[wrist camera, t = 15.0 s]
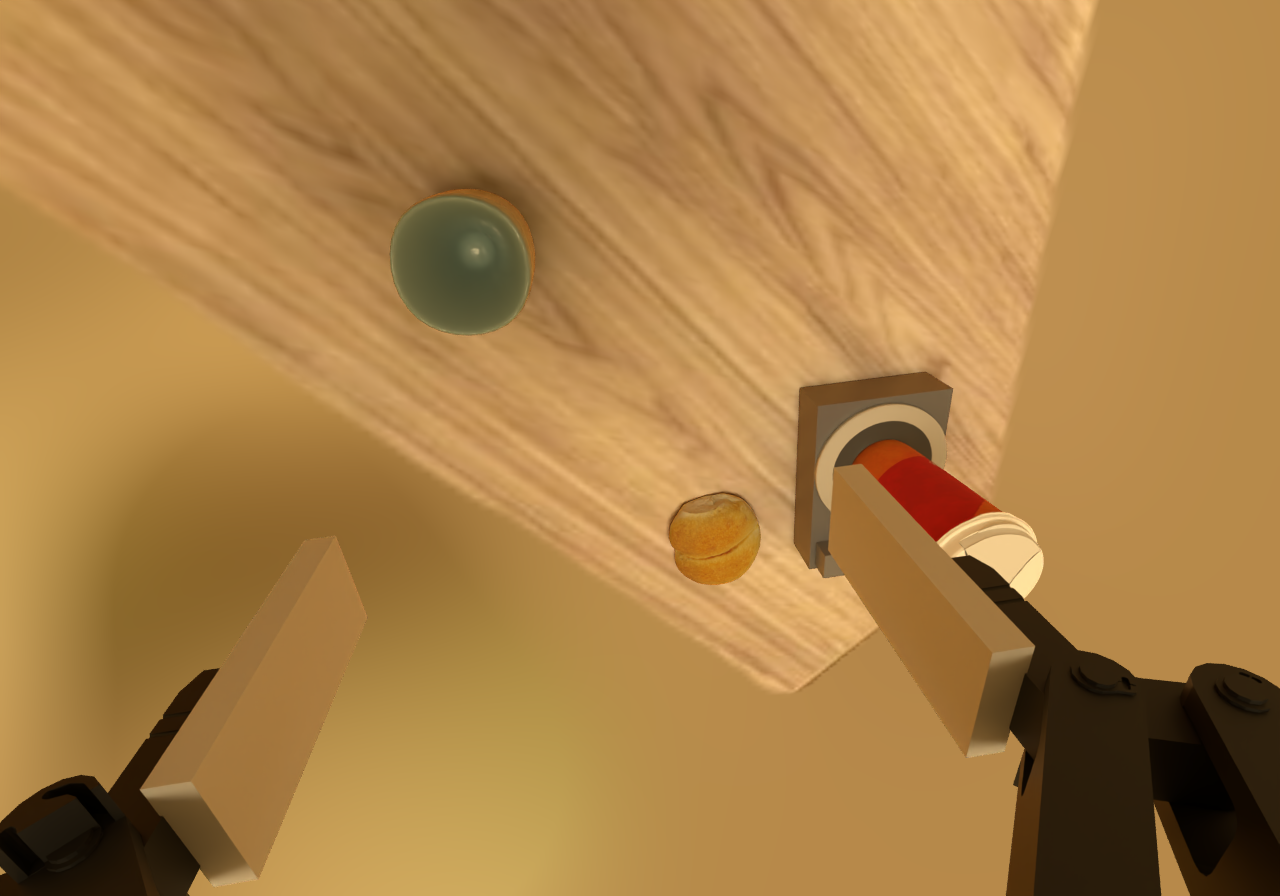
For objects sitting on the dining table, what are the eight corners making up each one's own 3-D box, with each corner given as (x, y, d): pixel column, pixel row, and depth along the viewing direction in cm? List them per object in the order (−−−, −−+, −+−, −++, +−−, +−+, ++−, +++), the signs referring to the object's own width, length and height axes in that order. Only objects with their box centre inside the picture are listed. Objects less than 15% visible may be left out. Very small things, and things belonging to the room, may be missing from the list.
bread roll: (681, 580, 58) (688, 608, 54) (660, 505, 54) (667, 531, 50) (763, 557, 58) (776, 584, 54) (748, 481, 54) (761, 504, 50)
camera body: (799, 387, 50) (828, 416, 44) (925, 371, 50) (968, 397, 45) (793, 543, 57) (817, 583, 52) (903, 527, 58) (938, 565, 52)
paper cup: (911, 509, 51) (1023, 625, 39) (826, 508, 50) (914, 627, 37) (939, 426, 48) (1073, 525, 35) (849, 423, 46) (954, 523, 34)
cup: (417, 182, 40) (375, 192, 31) (535, 184, 41) (527, 194, 32) (433, 299, 43) (399, 338, 34) (541, 299, 44) (535, 337, 35)
